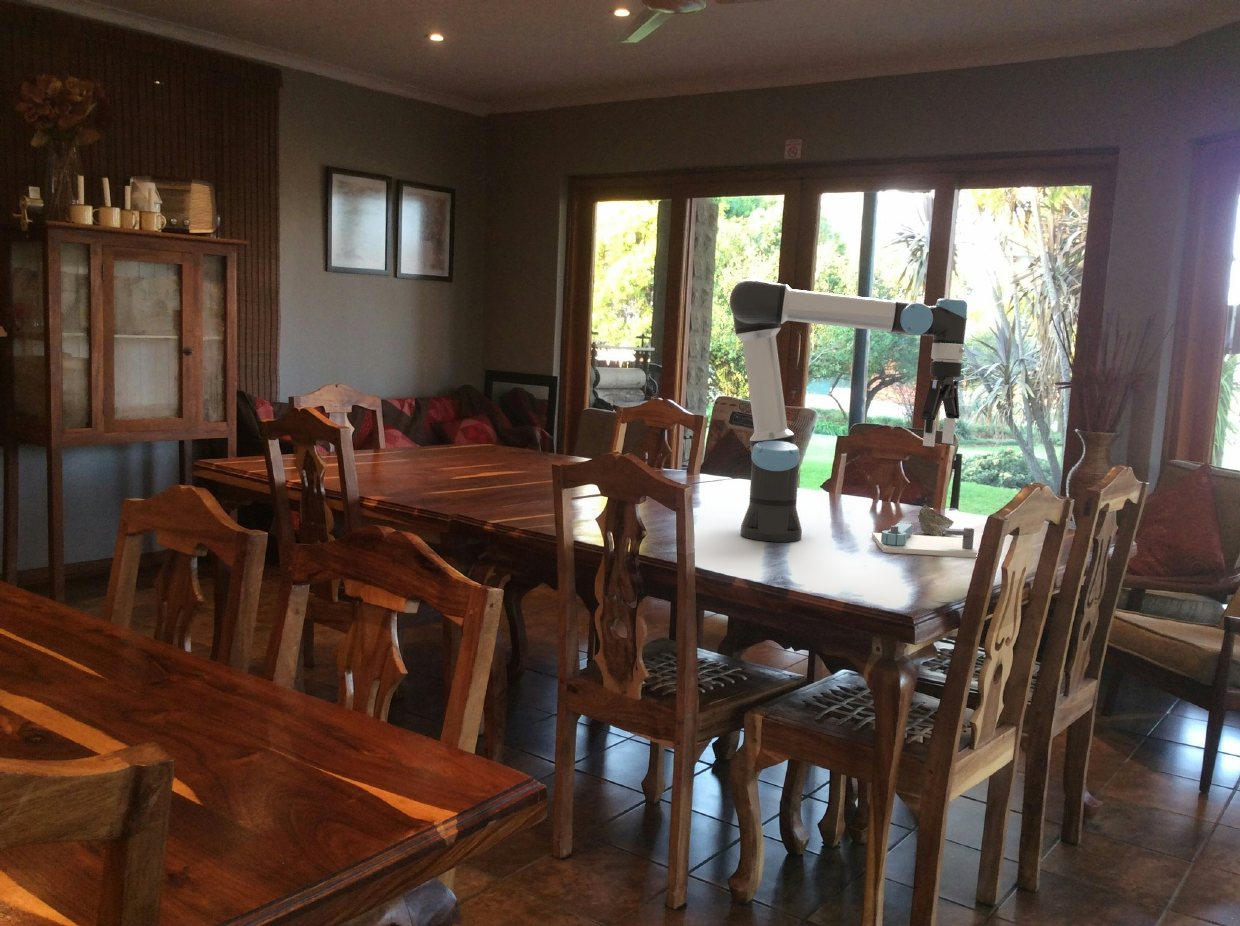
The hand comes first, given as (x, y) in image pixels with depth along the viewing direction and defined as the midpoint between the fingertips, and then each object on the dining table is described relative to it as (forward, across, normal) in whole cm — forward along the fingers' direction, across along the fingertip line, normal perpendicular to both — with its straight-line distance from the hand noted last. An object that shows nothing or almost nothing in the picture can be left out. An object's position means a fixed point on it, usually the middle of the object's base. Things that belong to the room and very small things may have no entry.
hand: (938, 444), depth 272 cm
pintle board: (+24, -13, -3) cm, 28 cm away
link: (+23, -15, +2) cm, 28 cm away
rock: (+24, +7, 0) cm, 25 cm away
